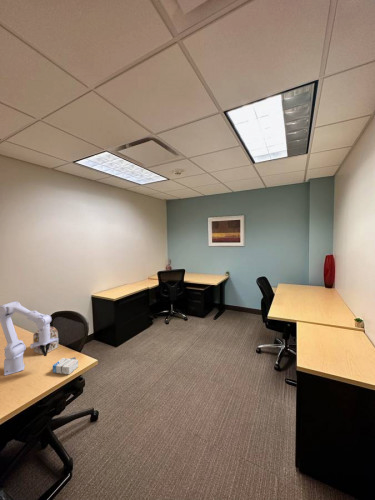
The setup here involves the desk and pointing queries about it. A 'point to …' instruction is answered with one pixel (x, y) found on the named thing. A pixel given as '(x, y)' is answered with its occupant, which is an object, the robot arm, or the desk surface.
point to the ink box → (65, 366)
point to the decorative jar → (52, 335)
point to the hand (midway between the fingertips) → (45, 355)
